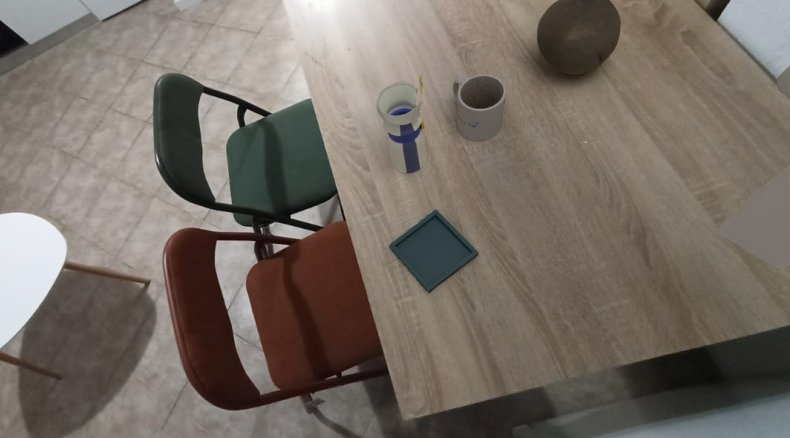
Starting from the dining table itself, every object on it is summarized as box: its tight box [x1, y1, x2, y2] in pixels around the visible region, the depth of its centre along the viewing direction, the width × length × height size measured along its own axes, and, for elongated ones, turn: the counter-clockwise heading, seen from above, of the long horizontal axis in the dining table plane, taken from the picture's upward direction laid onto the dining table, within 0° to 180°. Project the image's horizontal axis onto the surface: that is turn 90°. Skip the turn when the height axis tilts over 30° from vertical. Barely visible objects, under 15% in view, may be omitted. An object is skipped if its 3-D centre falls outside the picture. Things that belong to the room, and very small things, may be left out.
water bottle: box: [376, 73, 428, 174], centre depth 82 cm, size 8×9×25 cm
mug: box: [452, 73, 507, 142], centre depth 88 cm, size 12×9×10 cm
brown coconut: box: [536, 0, 622, 75], centre depth 85 cm, size 14×14×15 cm
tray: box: [388, 209, 480, 294], centre depth 83 cm, size 12×12×2 cm
